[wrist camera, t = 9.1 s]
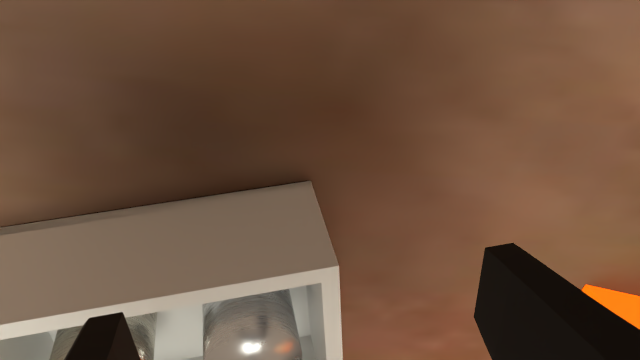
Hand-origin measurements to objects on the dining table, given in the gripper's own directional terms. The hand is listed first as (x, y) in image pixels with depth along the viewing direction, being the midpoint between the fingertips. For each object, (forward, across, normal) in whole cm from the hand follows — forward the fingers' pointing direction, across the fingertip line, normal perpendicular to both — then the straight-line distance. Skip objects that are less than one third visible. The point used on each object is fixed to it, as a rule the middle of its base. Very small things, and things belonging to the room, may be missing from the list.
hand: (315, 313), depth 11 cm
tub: (+10, +4, +8) cm, 14 cm away
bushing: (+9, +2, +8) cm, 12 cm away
